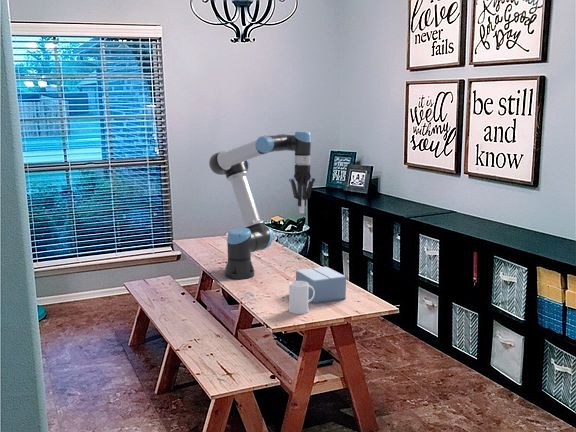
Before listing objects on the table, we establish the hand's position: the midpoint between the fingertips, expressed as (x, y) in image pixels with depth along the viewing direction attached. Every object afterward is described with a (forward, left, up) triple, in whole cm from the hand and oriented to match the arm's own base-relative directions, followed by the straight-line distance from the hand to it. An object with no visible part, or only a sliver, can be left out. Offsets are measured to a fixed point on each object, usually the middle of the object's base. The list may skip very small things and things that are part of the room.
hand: (301, 212), depth 292 cm
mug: (-18, -39, -34) cm, 55 cm away
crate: (-2, -25, -34) cm, 42 cm away
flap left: (-7, -25, -24) cm, 35 cm away
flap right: (+2, -25, -24) cm, 34 cm away
